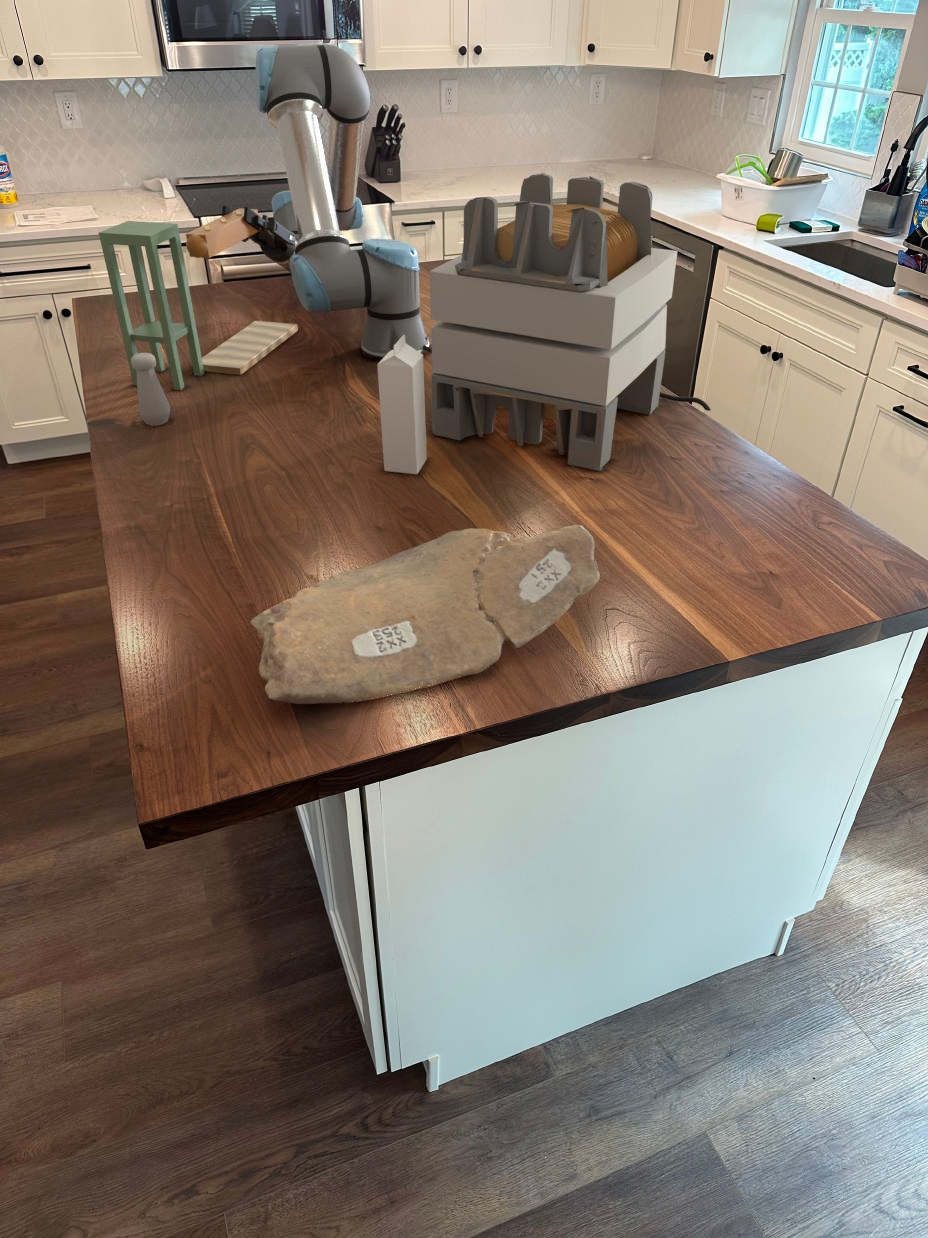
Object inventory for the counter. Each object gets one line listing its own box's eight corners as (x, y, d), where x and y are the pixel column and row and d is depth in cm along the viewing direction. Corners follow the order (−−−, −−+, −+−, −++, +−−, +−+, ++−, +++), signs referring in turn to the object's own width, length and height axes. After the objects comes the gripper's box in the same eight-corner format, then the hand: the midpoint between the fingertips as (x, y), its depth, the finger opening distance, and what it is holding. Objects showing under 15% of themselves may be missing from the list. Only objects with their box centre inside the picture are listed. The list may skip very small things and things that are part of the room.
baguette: (204, 260, 180) (199, 236, 177) (184, 259, 181) (179, 234, 178) (264, 228, 202) (261, 205, 199) (246, 226, 203) (243, 204, 200)
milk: (384, 471, 155) (374, 344, 142) (394, 456, 159) (386, 332, 146) (418, 474, 153) (411, 347, 140) (427, 459, 158) (422, 334, 145)
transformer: (661, 406, 177) (690, 178, 153) (600, 473, 153) (624, 217, 129) (506, 376, 190) (511, 163, 166) (428, 434, 166) (421, 196, 142)
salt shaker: (178, 418, 173) (165, 352, 166) (159, 429, 169) (144, 362, 161) (155, 413, 175) (140, 347, 168) (134, 424, 171) (118, 357, 163)
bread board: (240, 374, 192) (239, 368, 191) (194, 370, 194) (193, 363, 193) (298, 330, 215) (297, 324, 214) (256, 326, 217) (255, 320, 217)
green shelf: (180, 390, 185) (150, 235, 167) (133, 385, 187) (98, 232, 170) (204, 373, 193) (177, 223, 175) (158, 368, 195) (127, 220, 177)
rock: (229, 622, 121) (286, 752, 102) (211, 558, 114) (268, 685, 96) (524, 530, 135) (621, 630, 116) (523, 468, 128) (627, 563, 109)
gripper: (249, 228, 217) (199, 192, 194) (316, 232, 213) (273, 196, 190) (246, 260, 218) (196, 228, 195) (313, 265, 214) (270, 233, 191)
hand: (234, 212), depth 193 cm, fingers closed on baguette, 4 cm apart
